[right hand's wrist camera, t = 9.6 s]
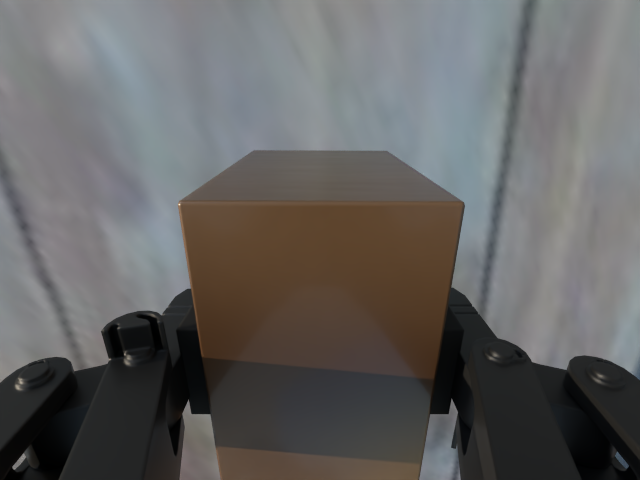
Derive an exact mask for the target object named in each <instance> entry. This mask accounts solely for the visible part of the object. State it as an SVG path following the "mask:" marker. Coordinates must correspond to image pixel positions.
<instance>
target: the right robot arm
mask: <svg viewBox="0 0 640 480" xmlns="http://www.w3.org/2000/svg"><path fill="white" fill-rule="evenodd" d="M101 333H102V336H103V340H104V343H105V346H106V350H107V353H108V357H109V362H108V364H105V365H102V366H98V367H93V368H88V369H83V370H79V371H74V370H73V367H72V364H71V362H70V361H69V360H67V359H66V358H61V357H52V358H45V359H41V360H38V361H34V362H32V363H29V364H28V365H26V366H24V367H22V368H20V369H18V370H16V371H15V372H13V373H12V374H11V375H9V376H8V377H7V378H5V379H4V380H3V381H2V382H1V383H0V480H179V477H180V467H181V457H182V447H183V438H184V428H185V427H184V420H183V415H182V413H183V411H184V408H185V406H186V404H187V402H188V399H189V402H190V408H191V413H192V414H211V413H210V407H209V400H208V394H207V388H206V381H205V375H204V368H203V362H202V355H201V349H200V343H199V336H198V330H197V323H196V317H195V310H194V304H193V298H192V291H191V289H186V290H185V291H183V292H182V293H180V294H179V295H177V296H176V297H175V298H174V299H173V301H172V302H171V303H170V305H169V306H168V308H167V309H166V310H165V311H164V312H163V315H162V316H161V315H160V314H159V313H157V312H153V311H137V312H133V313H129V314H126V315H123V316H121V317H118V318H116V319H114V320H113V321H111V322H110V323H108V324H107V325H106V326H105V327H104V328H103V330H102V331H101ZM451 398H452V400H453V402H454V404H455V406H456V408H457V411H458V415H457V420H456V425H455V430H454V435H453V440H452V446H451V448H455V449H456V445H457V446H458V456H459V466H460V476H461V480H640V380H639V379H637V378H636V377H635V376H634V375H632V374H631V373H630V372H628V371H627V370H625V369H624V368H622V367H620V366H618V365H616V364H614V363H613V362H610V361H608V360H604V359H601V358H598V357H591V356H577V357H574V358H573V359H571V360H570V362H569V365H568V368H567V370H564V369H559V368H554V367H549V366H545V365H540V364H536V363H533V362H532V361H531V359H530V358H529V356H528V355H527V354H526V352H524V351H523V350H522V349H521V348H519V347H518V346H516V345H514V344H512V343H510V342H508V341H506V340H502V339H498V338H497V337H496V336H495V334H494V333H493V332H492V330H491V329H490V328H489V327H488V325H487V324H486V323H485V321H484V320H483V319H482V317H481V316H480V315H479V314H478V312H477V311H476V309H475V308H474V307H472V304H471V303H470V302H469V300H468V299H467V298H466V296H465V295H463V294H462V293H460V292H459V291H457V290H456V289H454V288H451V291H450V297H449V303H448V309H447V315H446V321H445V327H444V333H443V339H442V345H441V351H440V357H439V363H438V369H437V375H436V381H435V387H434V393H433V399H432V405H431V411H430V414H449V409H450V404H451ZM617 451H618V453H619V454H620V455H621V456H622V457H623V459H624V460H625V461H626V462H627V464H628V465H629V467H628V468H627V469H626V468H625V467H624V466H623V465H621V464H620V462H619V461H618V460H617V459H616V457H615V454H616V452H617ZM23 453H24V454H25V456H26V458H25V460H24V461H23V462H22V463H21V465H20V466H18V467H17V468H16V469H15V470H13V468H12V466H13V465H14V464H15V463H16V462H17V460H18V459H19V458H20V457H21V455H22V454H23Z"/></svg>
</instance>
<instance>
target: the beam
mask: <svg viewBox="0 0 640 480" xmlns="http://www.w3.org/2000/svg"><path fill="white" fill-rule="evenodd" d="M178 208H179V214H180V220H181V227H182V233H183V240H184V246H185V253H186V259H187V265H188V272H189V278H190V285H191V291H192V298H193V304H194V310H195V317H196V323H197V330H198V336H199V343H200V349H201V355H202V362H203V368H204V375H205V381H206V388H207V394H208V400H209V407H210V413H211V420H212V426H213V433H214V439H215V445H216V452H217V458H218V465H219V471H220V477H221V480H419V477H420V471H421V465H422V459H423V453H424V447H425V441H426V435H427V429H428V423H429V417H430V411H431V405H432V399H433V393H434V387H435V381H436V375H437V369H438V363H439V357H440V351H441V345H442V339H443V333H444V327H445V321H446V315H447V309H448V303H449V297H450V291H451V285H452V279H453V273H454V267H455V261H456V255H457V250H458V244H459V238H460V232H461V226H462V220H463V214H464V208H465V205H464V202H463V201H461V200H460V199H458V198H457V197H455V196H454V195H452V194H451V193H449V192H448V191H446V190H445V189H443V188H442V187H440V186H439V185H437V184H436V183H434V182H433V181H431V180H430V179H428V178H427V177H425V176H424V175H422V174H421V173H419V172H418V171H416V170H415V169H413V168H412V167H410V166H409V165H407V164H406V163H404V162H403V161H401V160H400V159H398V158H397V157H395V156H394V155H392V154H391V153H389V152H388V151H266V150H254V151H252V152H251V153H249V154H248V155H246V156H245V157H243V158H242V159H240V160H239V161H238V162H236V163H235V164H233V165H232V166H230V167H229V168H227V169H226V170H224V171H223V172H221V173H220V174H218V175H217V176H215V177H214V178H213V179H211V180H210V181H208V182H207V183H205V184H204V185H202V186H201V187H199V188H198V189H196V190H195V191H193V192H192V193H191V194H189V195H188V196H186V197H185V198H183V199H182V200H180V201H179V203H178Z"/></svg>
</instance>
